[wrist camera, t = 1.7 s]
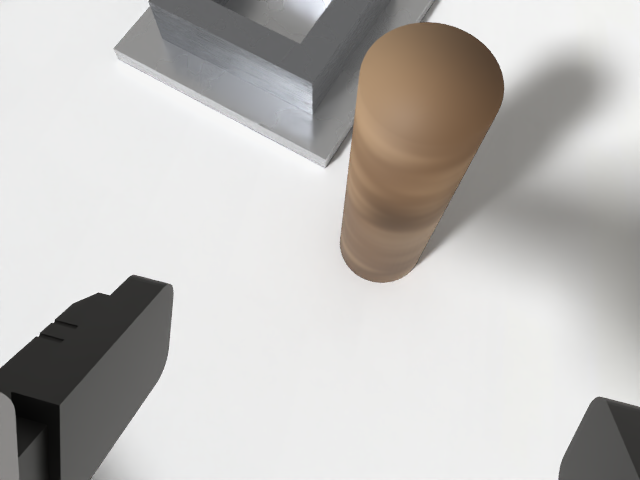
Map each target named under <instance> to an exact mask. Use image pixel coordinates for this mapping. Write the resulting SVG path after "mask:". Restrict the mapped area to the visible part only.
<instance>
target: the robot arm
mask: <svg viewBox="0 0 640 480" xmlns="http://www.w3.org/2000/svg"><path fill="white" fill-rule="evenodd" d="M172 306H173V287H172V285H171V284H168V283H164V282H160V281H156V280H152V279H149V278H145V277H141V276H137V275H132V276H130V277H129V278H128V279H127V280H126V281H125V282H123V283H122V284H121V285H120V286H119V287H118V288H117V289H116V290H115V291H114V292H113V293H112V294H111V295H106V294H102V293H97V294H94V295H92V296H90V297H87V298H85V299H83V300H80V301H78V302H76V303H73V304H72V305H71V306H70V307H69V308H68V309H67V310H65V311H64V312H63V313H62V314H61V315H60V316H59V317H58V318H56V319H55V322H54V323H51V324H50V325H49V326H47V327H46V328H45V329H44V330H43V331H42V332H41V333H40V335H39V337H35V338H34V339H33V340H32V341H31V342H29V343H28V344H27V345H26V346H25V347H24V348H23V349H22V350H20V351H19V352H18V353H17V354H16V355H15V356H14V357H13V358H11V359H10V360H9V361H8V362H7V363H6V364H5V365H4V366H2V367H1V368H0V480H90V479H91V477H92V476H93V474H94V473H95V472H96V470H97V469H98V467H99V466H100V464H101V463H102V461H103V460H104V459H105V457H106V456H107V454H108V453H109V451H110V450H111V448H112V447H113V445H114V444H115V443H116V441H117V440H118V438H119V437H120V435H121V434H122V432H123V431H124V430H125V428H126V427H127V425H128V424H129V422H130V421H131V419H132V418H133V416H134V415H135V414H136V412H137V411H138V409H139V408H140V406H141V405H142V403H143V402H144V401H145V399H146V398H147V396H148V395H149V393H150V392H151V390H152V389H153V387H154V386H155V385H156V383H157V382H158V380H159V378H160V376H161V374H162V372H163V369H164V366H165V363H166V360H167V356H168V350H169V340H170V329H171V317H172ZM559 480H640V407H638V406H634V405H630V404H627V403H623V402H619V401H615V400H611V399H607V398H603V397H597V398H595V399H594V400H593V401H592V402H591V403H590V405H589V407H588V409H587V411H586V413H585V415H584V417H583V419H582V421H581V423H580V425H579V427H578V429H577V431H576V433H575V435H574V437H573V439H572V441H571V443H570V445H569V447H568V449H567V451H566V453H565V455H564V457H563V459H562V462H561V466H560V470H559Z"/></svg>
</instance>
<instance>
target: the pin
mask: <svg viewBox="0 0 640 480" xmlns="http://www.w3.org/2000/svg"><path fill="white" fill-rule="evenodd" d="M503 95H504V80H503V75H502V72H501V69H500V66H499V64H498V62H497V60H496V59H495V57H494V56H493V54H492V53H491V51H490V50H489V49H488V48H487V47H486V46H485V45H484V44H483V43H482V42H480V41H479V40H478V39H477V38H475V37H474V36H472V35H471V34H469V33H467V32H465V31H463V30H461V29H458V28H456V27H453V26H449V25H446V24H440V23H430V22H423V23H413V24H408V25H404V26H401V27H398V28H396V29H393V30H391V31H389V32H388V33H386V34H384V35H383V36H382V37H380V38H379V39H378V40H377V41H376V42H375V43H374V44H373V45H372V46H371V47H370V49H369V50H368V51H367V53H366V55H365V57H364V59H363V61H362V64H361V68H360V73H359V82H358V91H357V99H356V108H355V116H354V125H353V134H352V142H351V151H350V160H349V168H348V177H347V185H346V194H345V203H344V211H343V220H342V228H341V237H340V249H341V253H342V256H343V259H344V261H345V262H346V264H347V265H348V267H349V268H350V269H351V270H352V271H353V272H354V273H355V274H357V275H358V276H360V277H362V278H364V279H366V280H369V281H372V282H379V283H385V282H392V281H395V280H398V279H400V278H402V277H404V276H405V275H407V274H408V273H409V272H410V271H411V270H412V269H413V268H414V266H415V265H416V263H417V261H418V259H419V258H420V256H421V254H422V252H423V250H424V248H425V246H426V245H427V243H428V241H429V239H430V237H431V235H432V233H433V232H434V230H435V228H436V226H437V224H438V222H439V220H440V219H441V217H442V215H443V213H444V211H445V209H446V207H447V206H448V204H449V202H450V200H451V198H452V196H453V195H454V193H455V191H456V189H457V187H458V185H459V183H460V182H461V180H462V178H463V176H464V174H465V172H466V170H467V169H468V167H469V165H470V163H471V161H472V159H473V157H474V156H475V154H476V152H477V150H478V148H479V146H480V144H481V143H482V141H483V139H484V137H485V135H486V133H487V131H488V130H489V128H490V126H491V124H492V122H493V120H494V118H495V117H496V115H497V113H498V111H499V109H500V106H501V104H502V100H503Z"/></svg>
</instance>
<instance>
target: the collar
mask: <svg viewBox="0 0 640 480" xmlns="http://www.w3.org/2000/svg"><path fill="white" fill-rule="evenodd" d="M148 2H149V4H150V7H149V8H148V9H147V10H146V12H145V13H144V14H143V15H142V16H141V17H140V19H139V20H138V21H137V22H136V23H135V24H134V25H133V27H132V28H131V29H130V30H129V31H128V32H127V34H126V35H125V36H124V37H123V38H122V39H121V41H120V42H119V43H118V44H117V45H116V46H115V47H114V51H115V53H116V55H117V57H118V59H119V60H121V61H123V62H125V63H127V64H129V65H131V66H133V67H135V68H136V69H138V70H140V71H142V72H144V73H146V74H148V75H150V76H152V77H154V78H155V79H157V80H159V81H161V82H163V83H165V84H167V85H169V86H171V87H173V88H174V89H176V90H178V91H180V92H182V93H184V94H186V95H188V96H190V97H192V98H193V99H195V100H197V101H199V102H201V103H203V104H205V105H207V106H209V107H211V108H212V109H214V110H216V111H218V112H220V113H222V114H224V115H226V116H228V117H230V118H231V119H233V120H235V121H237V122H239V123H241V124H243V125H245V126H247V127H249V128H250V129H252V130H254V131H256V132H258V133H260V134H262V135H264V136H266V137H268V138H269V139H271V140H273V141H275V142H277V143H279V144H281V145H283V146H285V147H286V148H288V149H290V150H292V151H294V152H296V153H298V154H300V155H302V156H304V157H305V158H307V159H309V160H311V161H313V162H315V163H317V164H319V165H321V166H323V167H324V168H326V166H327V165H328V163H329V162H330V160H331V158H332V157H333V155H334V154H335V152H336V151H337V149H338V148H339V146H340V145H341V143H342V142H343V140H344V139H345V137H346V135H347V134H348V132H349V131H350V129H351V128H352V126H353V125H354V116H355V108H356V99H357V91H358V82H359V73H360V68H361V64H362V61H363V59H364V57H365V55H366V53H367V51H368V50H369V49H370V47H371V46H372V45H373V44H374V43H375V42H376V41H377V40H378V39H379V38H380V37H382V36H383V35H384V34H386V33H388V32H389V31H391V30H393V29H396V28H398V27H401V26H404V25H408V24H413V23H420V22H421V20H422V19H423V17H424V16H425V14H426V13H427V11H428V9H429V8H430V6H431V5H432V3H433V2H434V0H149V1H148Z"/></svg>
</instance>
